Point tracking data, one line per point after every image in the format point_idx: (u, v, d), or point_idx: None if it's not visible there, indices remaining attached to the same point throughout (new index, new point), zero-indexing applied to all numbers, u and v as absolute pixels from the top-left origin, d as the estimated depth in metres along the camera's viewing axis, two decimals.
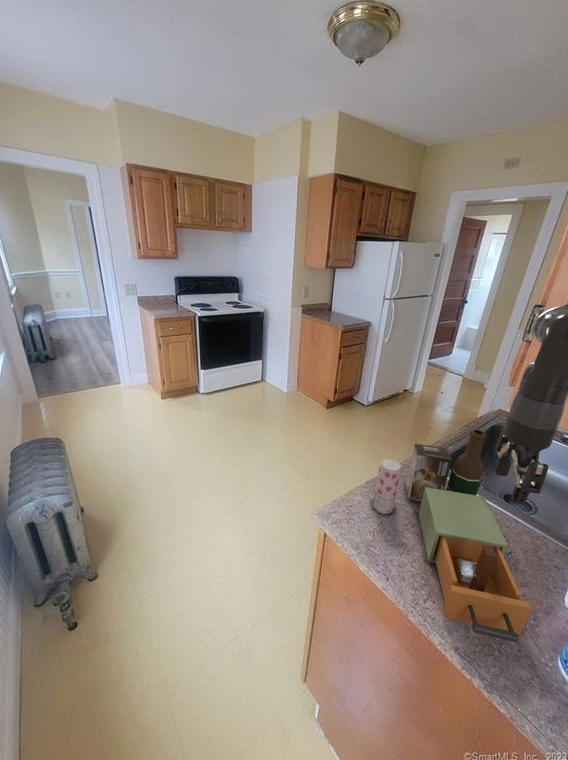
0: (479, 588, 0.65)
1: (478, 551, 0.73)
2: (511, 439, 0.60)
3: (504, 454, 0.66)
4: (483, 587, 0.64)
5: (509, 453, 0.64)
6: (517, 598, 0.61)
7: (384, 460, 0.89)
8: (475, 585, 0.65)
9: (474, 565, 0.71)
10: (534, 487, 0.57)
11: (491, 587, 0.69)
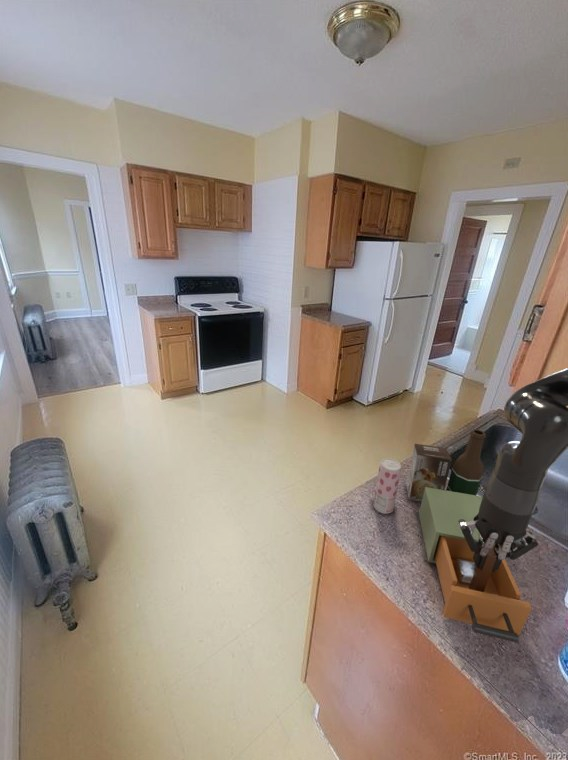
0: (479, 588, 0.65)
1: None
2: None
3: None
4: (483, 587, 0.64)
5: None
6: (517, 598, 0.61)
7: (384, 460, 0.89)
8: (475, 585, 0.65)
9: (474, 565, 0.71)
10: None
11: (491, 587, 0.69)
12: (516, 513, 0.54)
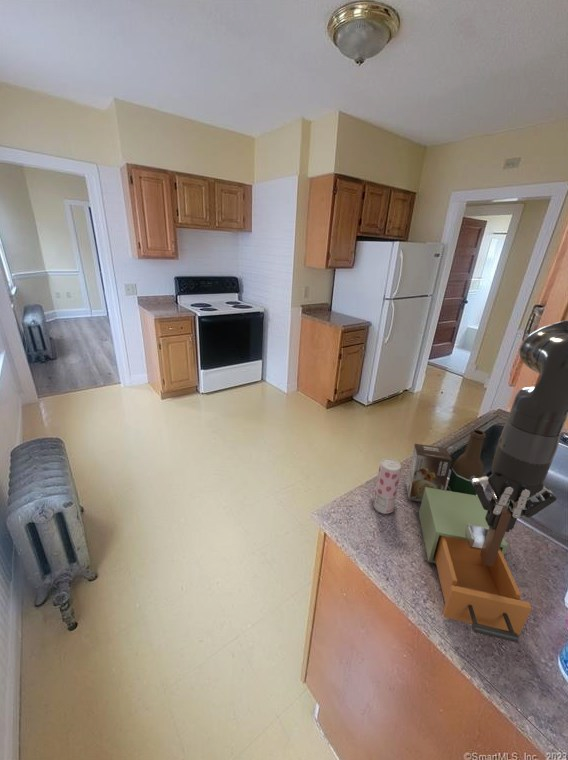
0: (492, 551, 0.61)
1: (478, 551, 0.73)
2: None
3: None
4: (496, 550, 0.60)
5: None
6: (517, 598, 0.61)
7: (384, 460, 0.89)
8: (488, 548, 0.61)
9: (485, 531, 0.68)
10: None
11: (491, 587, 0.69)
12: (534, 462, 0.50)
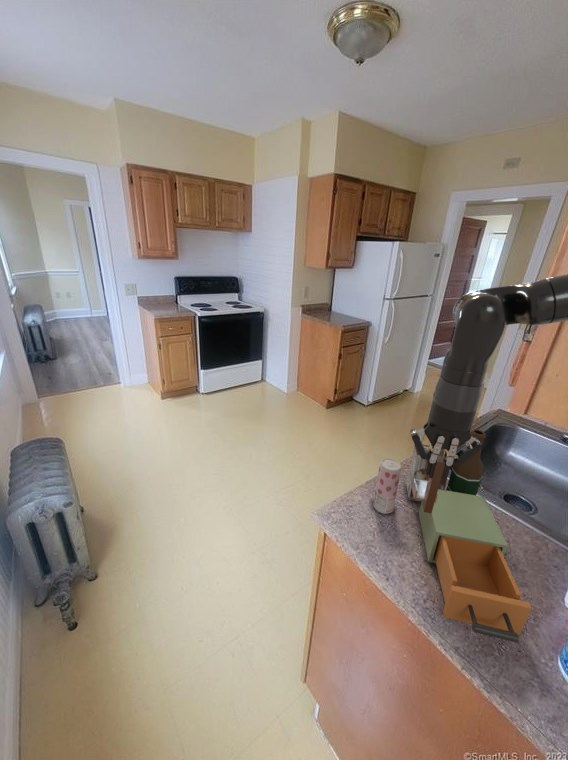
0: (430, 498, 0.67)
1: (478, 551, 0.73)
2: None
3: None
4: (434, 497, 0.67)
5: None
6: (517, 598, 0.61)
7: (384, 460, 0.89)
8: (427, 496, 0.68)
9: None
10: None
11: (491, 587, 0.69)
12: (458, 410, 0.57)
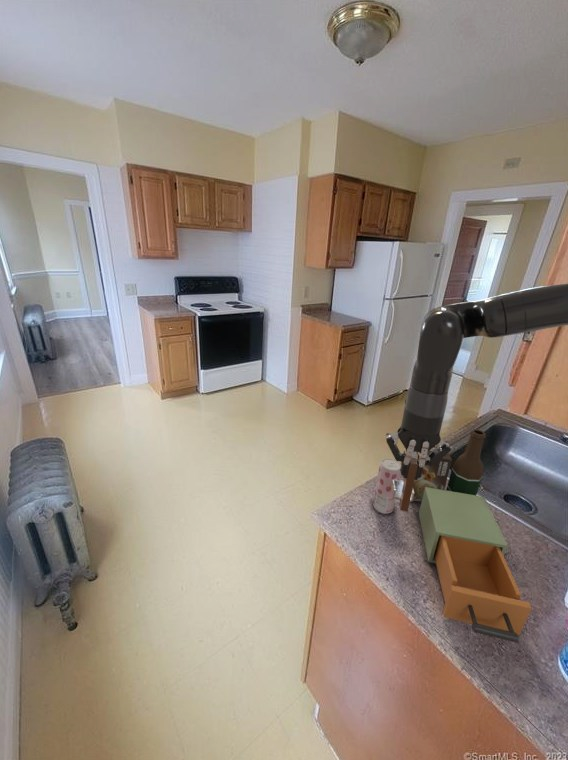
0: (406, 497, 0.72)
1: (478, 551, 0.73)
2: None
3: None
4: (409, 496, 0.72)
5: None
6: (517, 598, 0.61)
7: (384, 460, 0.89)
8: (403, 495, 0.73)
9: None
10: None
11: (491, 587, 0.69)
12: (426, 416, 0.62)
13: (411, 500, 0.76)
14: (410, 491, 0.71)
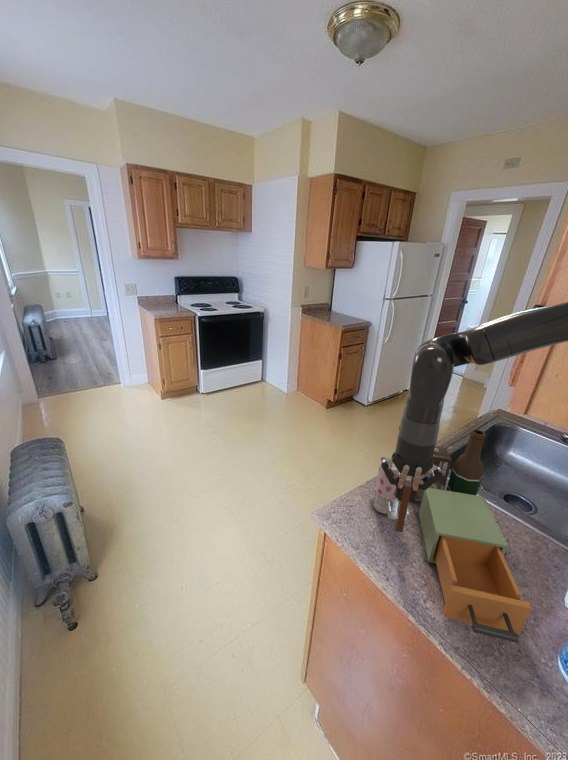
0: (400, 518, 0.75)
1: (478, 551, 0.73)
2: None
3: None
4: (403, 517, 0.74)
5: None
6: (517, 598, 0.61)
7: None
8: (397, 516, 0.75)
9: None
10: None
11: (491, 587, 0.69)
12: (418, 444, 0.65)
13: (406, 521, 0.79)
14: (404, 513, 0.74)
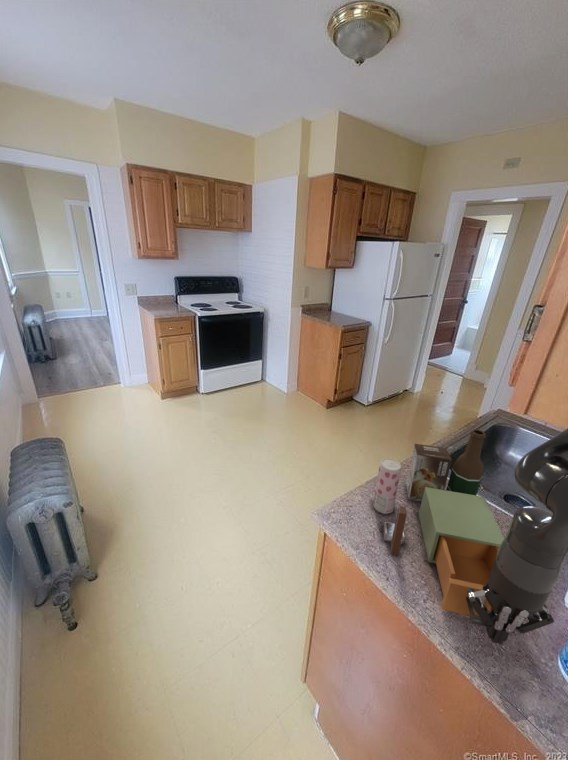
0: (396, 543, 0.77)
1: (476, 545, 0.74)
2: None
3: None
4: (399, 542, 0.76)
5: None
6: None
7: (384, 460, 0.89)
8: (393, 540, 0.77)
9: None
10: None
11: None
12: (533, 591, 0.48)
13: (401, 543, 0.81)
14: (400, 537, 0.76)
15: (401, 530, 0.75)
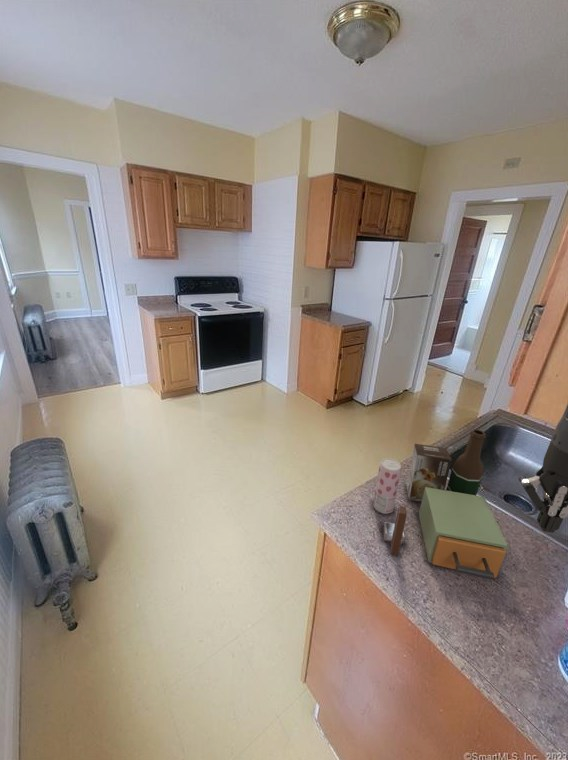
0: (396, 543, 0.77)
1: None
2: None
3: None
4: (399, 542, 0.76)
5: None
6: (494, 546, 0.72)
7: (384, 460, 0.89)
8: (393, 540, 0.77)
9: None
10: None
11: (474, 542, 0.80)
12: None
13: (401, 543, 0.81)
14: (400, 537, 0.76)
15: (401, 530, 0.75)
